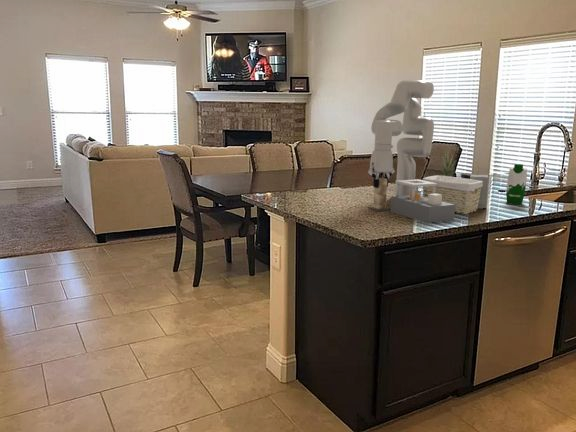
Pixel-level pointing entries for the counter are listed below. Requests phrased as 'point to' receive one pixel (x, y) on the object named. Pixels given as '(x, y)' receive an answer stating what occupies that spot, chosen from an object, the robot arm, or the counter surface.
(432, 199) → the on button
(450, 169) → the potted plant
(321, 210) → the counter surface
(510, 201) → the milk carton
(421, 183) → the grey housing
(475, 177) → the skincare box
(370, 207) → the pad
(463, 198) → the storage basket
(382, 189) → the wooden rectangular block
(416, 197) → the plunger
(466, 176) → the supplement container
